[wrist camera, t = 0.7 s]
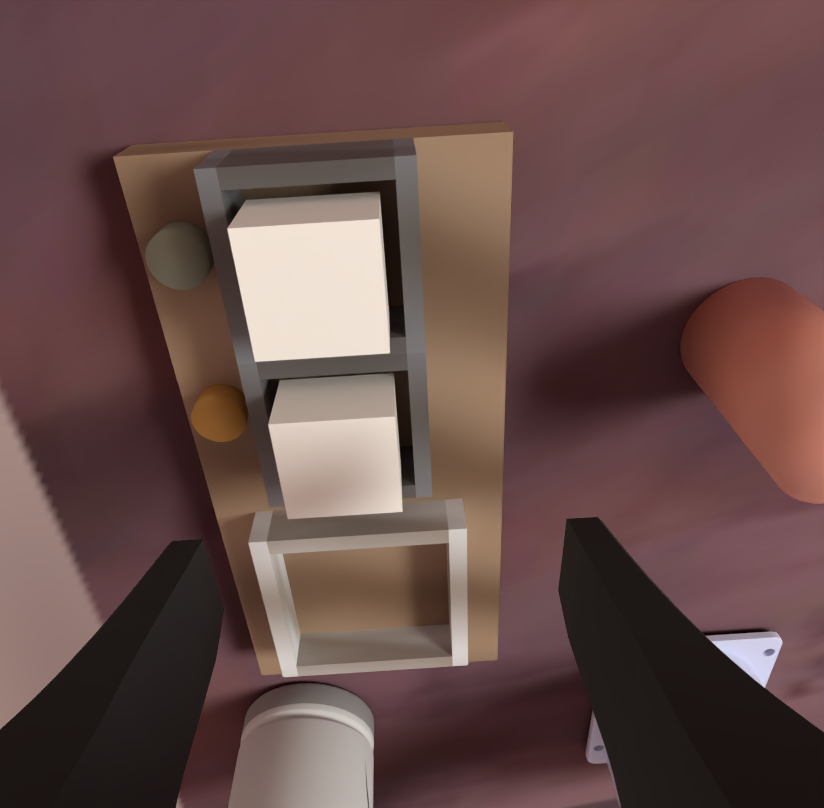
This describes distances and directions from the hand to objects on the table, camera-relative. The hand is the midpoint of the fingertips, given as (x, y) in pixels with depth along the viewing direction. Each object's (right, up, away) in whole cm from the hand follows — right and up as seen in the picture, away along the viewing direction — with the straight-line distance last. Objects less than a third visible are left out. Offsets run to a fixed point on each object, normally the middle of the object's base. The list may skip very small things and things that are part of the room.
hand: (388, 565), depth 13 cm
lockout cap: (+11, +5, +8) cm, 15 cm away
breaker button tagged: (-2, +3, +6) cm, 7 cm away
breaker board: (-2, +2, +10) cm, 10 cm away
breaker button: (-2, +7, +3) cm, 8 cm away
